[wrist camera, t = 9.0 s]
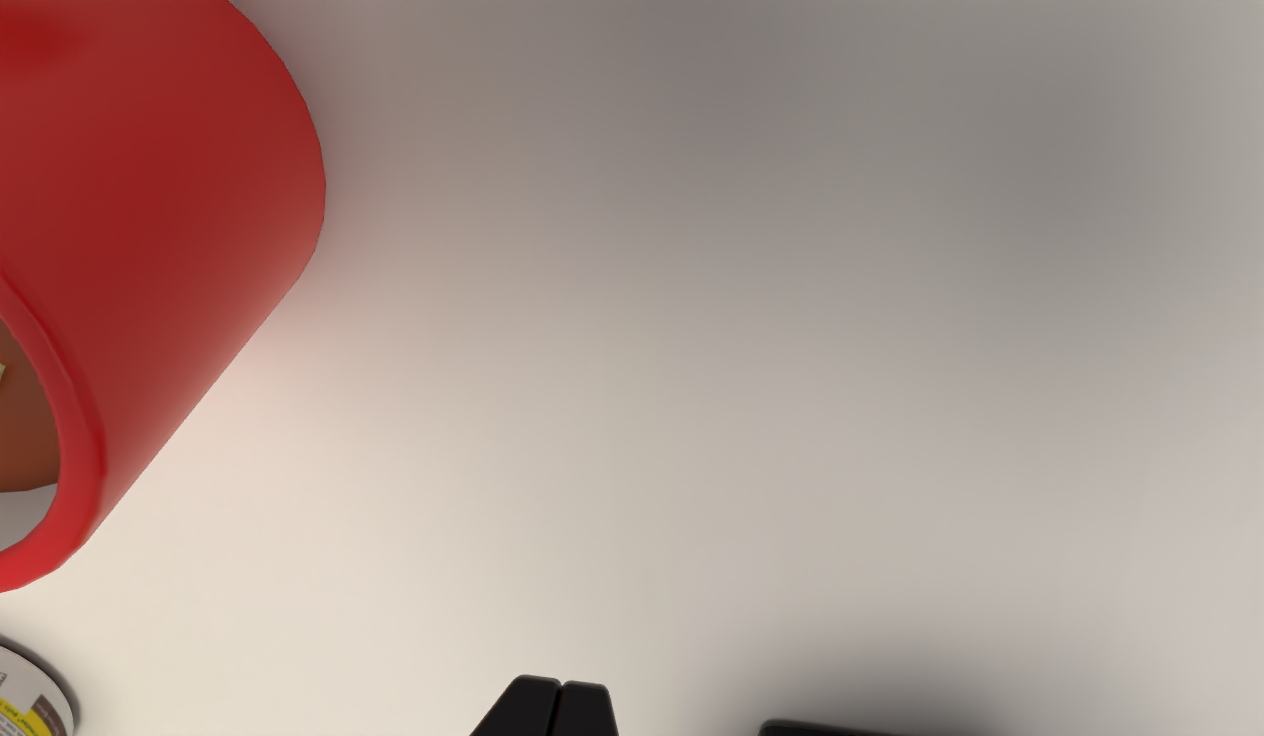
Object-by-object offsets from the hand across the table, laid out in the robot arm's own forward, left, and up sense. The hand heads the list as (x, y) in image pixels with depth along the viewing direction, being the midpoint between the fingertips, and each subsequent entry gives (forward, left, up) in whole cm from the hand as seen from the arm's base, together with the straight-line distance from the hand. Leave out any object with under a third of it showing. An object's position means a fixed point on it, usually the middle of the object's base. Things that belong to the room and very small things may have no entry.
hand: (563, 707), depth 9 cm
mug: (+12, 0, -11) cm, 17 cm away
